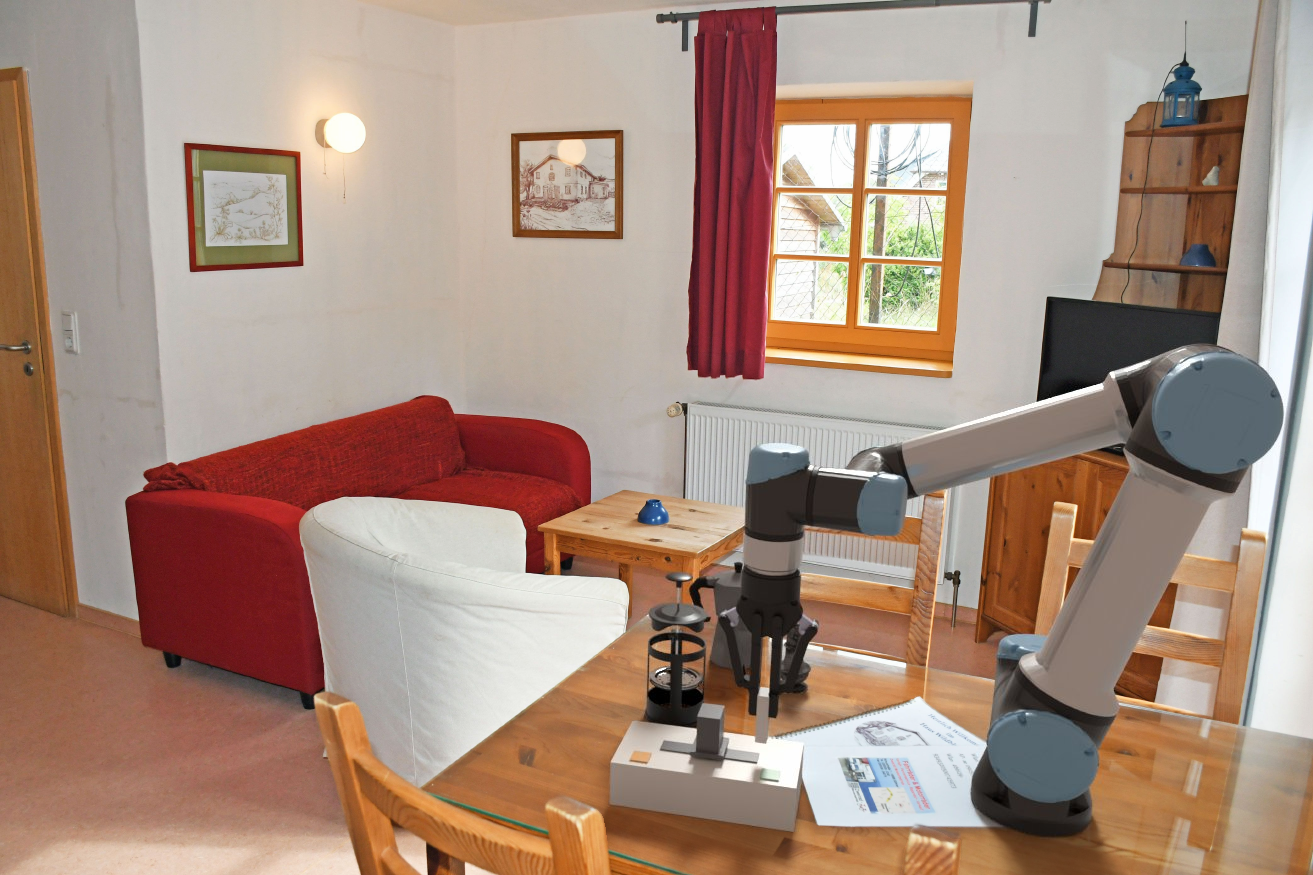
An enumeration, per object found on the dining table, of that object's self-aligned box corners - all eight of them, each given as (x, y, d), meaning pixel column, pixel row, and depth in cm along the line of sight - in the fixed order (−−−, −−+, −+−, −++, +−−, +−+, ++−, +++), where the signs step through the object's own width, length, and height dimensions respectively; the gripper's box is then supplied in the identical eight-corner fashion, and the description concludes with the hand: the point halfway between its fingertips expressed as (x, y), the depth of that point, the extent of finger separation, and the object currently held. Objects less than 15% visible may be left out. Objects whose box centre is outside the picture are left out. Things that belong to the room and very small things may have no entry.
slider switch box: (801, 782, 137) (804, 741, 136) (793, 831, 126) (796, 786, 124) (632, 759, 142) (632, 718, 141) (609, 804, 131) (610, 760, 129)
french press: (705, 732, 151) (711, 587, 146) (643, 730, 151) (647, 585, 146) (703, 697, 162) (708, 562, 158) (645, 695, 162) (649, 560, 158)
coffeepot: (760, 646, 184) (764, 552, 180) (778, 666, 175) (784, 568, 171) (679, 652, 180) (682, 556, 176) (694, 674, 171) (698, 573, 168)
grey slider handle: (728, 741, 135) (730, 704, 133) (723, 760, 130) (724, 721, 129) (696, 737, 135) (698, 700, 134) (689, 755, 131) (691, 717, 130)
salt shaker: (771, 691, 165) (775, 622, 163) (778, 676, 171) (781, 610, 168) (807, 696, 164) (811, 627, 161) (812, 681, 169) (816, 614, 167)
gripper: (825, 562, 128) (813, 731, 133) (725, 552, 131) (717, 718, 136) (822, 580, 121) (809, 759, 126) (716, 569, 124) (707, 744, 128)
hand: (761, 737), depth 131 cm, fingers closed
